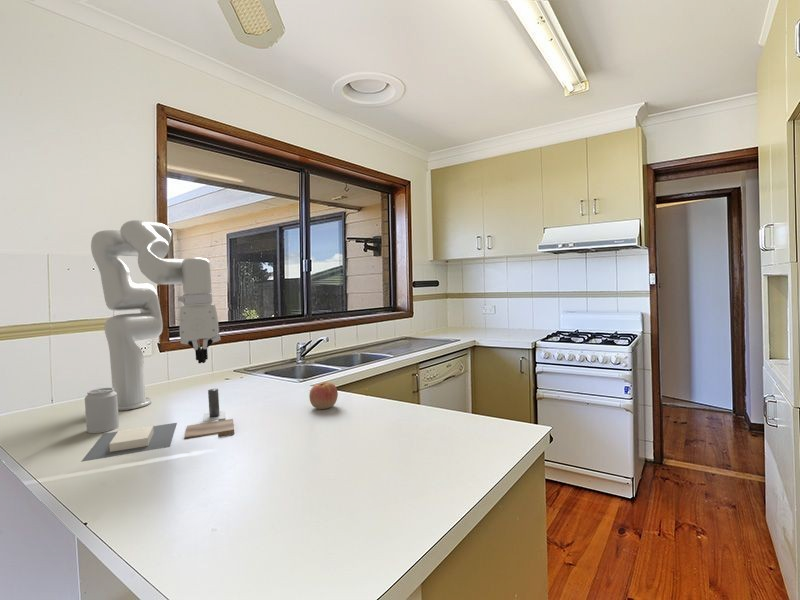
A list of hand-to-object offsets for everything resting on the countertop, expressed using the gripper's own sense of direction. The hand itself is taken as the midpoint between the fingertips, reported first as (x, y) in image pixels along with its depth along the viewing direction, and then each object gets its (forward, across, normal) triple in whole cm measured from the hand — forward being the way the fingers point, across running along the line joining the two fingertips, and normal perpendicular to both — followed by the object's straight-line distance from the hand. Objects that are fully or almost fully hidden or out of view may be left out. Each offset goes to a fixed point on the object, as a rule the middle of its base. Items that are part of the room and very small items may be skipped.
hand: (202, 362), depth 124 cm
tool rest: (+18, +3, -10) cm, 21 cm away
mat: (+18, -15, -11) cm, 26 cm away
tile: (+16, -16, -8) cm, 24 cm away
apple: (+18, +35, 0) cm, 39 cm away
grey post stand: (+18, +2, +2) cm, 18 cm away
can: (+18, -27, +2) cm, 33 cm away
